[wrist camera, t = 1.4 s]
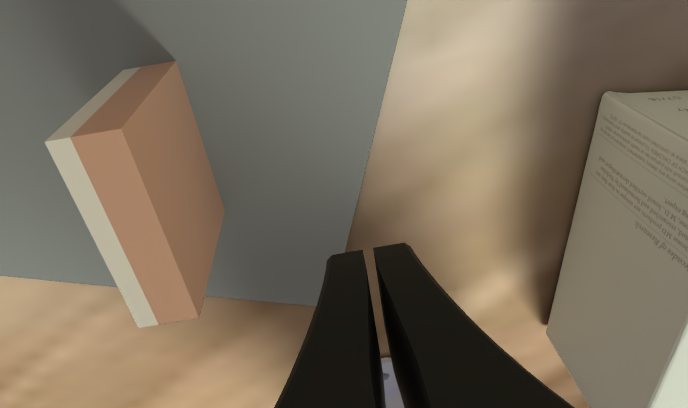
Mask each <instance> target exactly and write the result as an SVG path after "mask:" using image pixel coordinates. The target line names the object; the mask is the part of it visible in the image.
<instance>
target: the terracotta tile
mask: <svg viewBox="0 0 688 408" xmlns="http://www.w3.org/2000/svg"><path fill="white" fill-rule="evenodd" d="M45 144H46V146H47V148H48V150H49V152H50V154H51V156H52V158H53V160H54V162H55V164H56V166H57V168H58V170H59V172H60V174H61V176H62V178H63V180H64V182H65V184H66V186H67V188H68V190H69V192H70V194H71V196H72V198H73V200H74V202H75V203H76V205H77V207H78V209H79V211H80V213H81V215H82V217H83V219H84V221H85V223H86V225H87V227H88V229H89V231H90V233H91V235H92V237H93V239H94V241H95V243H96V245H97V247H98V249H99V251H100V253H101V255H102V257H103V259H104V261H105V263H106V265H107V267H108V269H109V271H110V273H111V275H112V277H113V279H114V281H115V283H116V285H117V287H118V288H119V290H120V292H121V294H122V296H123V298H124V300H125V302H126V304H127V306H128V308H129V310H130V312H131V314H132V316H133V318H134V320H135V322H136V324H137V326H138V328H142V327H148V326H154V325H160V324H166V323H172V322H178V321H184V320H190V319H196V318H199V316H200V312H201V308H202V304H203V299H204V295H205V291H206V287H207V283H208V279H209V275H210V271H211V267H212V263H213V258H214V254H215V250H216V246H217V242H218V238H219V234H220V230H221V226H222V222H223V217H224V213H225V209H224V206H223V203H222V200H221V197H220V194H219V191H218V188H217V185H216V182H215V178H214V175H213V172H212V169H211V166H210V163H209V160H208V157H207V154H206V151H205V148H204V145H203V142H202V138H201V135H200V132H199V129H198V126H197V123H196V120H195V117H194V114H193V111H192V108H191V105H190V101H189V98H188V95H187V92H186V89H185V86H184V83H183V80H182V77H181V74H180V71H179V68H178V64H177V61H171V62H166V63H160V64H154V65H148V66H142V67H137V68H131V69H125V70H123V71H121V72H120V73H119V74H118V75H117V76H116V77H115V78H114V79H113V80H112V81H111V82H109V83H108V84H107V85H106V86H105V87H104V88H103V89H102V90H101V91H100V92H98V93H97V94H96V95H95V96H94V97H93V98H92V99H91V100H90V101H89V102H87V103H86V104H85V105H84V106H83V107H82V108H81V109H80V110H79V111H78V112H76V113H75V114H74V115H73V116H72V117H71V118H70V119H69V120H68V121H67V122H66V123H64V124H63V125H62V126H61V127H60V128H59V129H58V130H57V131H56V132H55V133H53V134H52V135H51V136H50V137H49V138H48V139H47V140H46V141H45Z"/></svg>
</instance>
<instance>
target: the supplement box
mask: <svg viewBox="0 0 688 408" xmlns="http://www.w3.org/2000/svg"><path fill="white" fill-rule="evenodd" d="M546 334H547V336H548V338H549V340H550V341H551V343H552V345H553V347H554V348H555V350H556V351H557V353H558V355H559V357H560V358H561V360H562V362H563V363H564V365H565V367H566V368H567V370H568V372H569V373H570V375H571V377H572V378H573V380H574V382H575V383H576V385H577V387H578V388H579V390H580V392H581V393H582V395H583V397H584V398H585V400H586V402H587V403H588V405H589V406H590V408H688V90H682V91H662V92H642V93H620V92H612V91H607V92H605V93H604V94H603V95H602V98H601V102H600V106H599V110H598V116H597V120H596V124H595V129H594V133H593V137H592V141H591V145H590V148H589V153H588V158H587V162H586V166H585V170H584V174H583V178H582V183H581V187H580V192H579V196H578V200H577V204H576V208H575V212H574V216H573V221H572V225H571V230H570V233H569V237H568V242H567V246H566V250H565V254H564V258H563V262H562V267H561V271H560V275H559V280H558V284H557V288H556V293H555V297H554V301H553V305H552V309H551V314H550V318H549V322H548V326H547V330H546Z"/></svg>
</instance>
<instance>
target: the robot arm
mask: <svg viewBox="0 0 688 408" xmlns="http://www.w3.org/2000/svg"><path fill="white" fill-rule="evenodd" d="M373 249H374V256H375V263H376V270H377V277H378V283H379V290H380V297H381V304H382V311H383V317H384V324H385V329H386V335H387V340H388V345H389V350H390V355H391V358H389V357H387V358H382V359H381V357H380V351H379V345H378V338H377V332H376V326H375V320H374V313H373V307H372V301H371V295H370V289H369V282H368V276H367V270H366V265H365V260H364V255H363V251H362V250H359V251H353V252H347V253H341V254H335V255H331V256H330V257H329V259H328V260H327V263H326V271H325V276H324V281H323V285H322V289H321V292H320V296H319V299H318V303H317V306H316V309H315V312H314V315H313V318H312V321H311V323H310V326H309V329H308V332H307V335H306V338H305V340H304V343H303V345H302V348H301V350H300V352H299V355H298V357H297V359H296V362H295V364H294V366H293V369H292V371H291V373H290V376H289V378H288V380H287V382H286V385H285V387H284V389H283V391H282V393H281V395H280V397H279V399H278V401H277V403H276V405H275V407H274V408H574V407H573V406H572V405H570V404H569V403H568V402H566V401H565V400H564V399H562V398H561V397H560V396H559V395H557V394H556V393H555V392H553V391H552V390H551V389H549V388H548V387H547V386H546V385H544V384H543V383H542V382H541V381H539V380H538V379H537V378H536V377H534V376H533V375H532V374H531V373H530V372H528V371H527V370H526V369H525V368H523V367H522V366H521V365H520V364H519V363H518V362H516V361H515V360H514V359H513V358H512V357H511V356H510V355H508V354H507V353H506V352H505V351H504V350H503V349H502V348H501V347H500V346H498V345H497V344H496V343H495V342H494V341H493V340H492V339H491V338H490V337H489V336H488V335H487V334H486V333H485V332H484V331H482V330H481V329H480V328H479V327H478V326H477V325H476V324H475V323H474V322H473V321H472V320H471V319H470V318H469V317H468V316H467V315H466V313H465V312H464V311H463V310H462V309H461V308H460V307H459V306H458V305H457V304H456V303H455V302H454V301H453V300H452V299H451V297H450V296H449V295H448V294H447V293H446V292H445V291H444V290H443V289H442V287H441V286H440V285H439V284H438V283H437V282H436V280H435V279H434V278H433V277H432V276H431V274H430V273H429V272H428V271H427V269H426V268H425V267H424V266H423V264H422V263H421V262H420V260H419V259H418V257H417V256H416V255H415V253H414V252H413V250H412V249H411V247H410V246H408V245H407V244H406V243H400V244H394V245H388V246H382V247H376V248H373ZM383 373H385V374H383Z"/></svg>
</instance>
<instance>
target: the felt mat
mask: <svg viewBox="0 0 688 408" xmlns="http://www.w3.org/2000/svg"><path fill="white" fill-rule="evenodd" d="M406 4H407V0H0V276H8V277H18V278H28V279H39V280H49V281H59V282H69V283H79V284H90V285H100V286H110V287H117V285H116V283H115V281H114V279H113V277H112V275H111V273H110V271H109V269H108V267H107V265H106V263H105V261H104V259H103V257H102V255H101V253H100V251H99V249H98V247H97V245H96V243H95V241H94V239H93V237H92V235H91V233H90V231H89V229H88V227H87V225H86V223H85V221H84V219H83V217H82V215H81V213H80V211H79V209H78V207H77V205H76V203H75V202H74V200H73V198H72V196H71V194H70V192H69V190H68V188H67V186H66V184H65V182H64V180H63V178H62V176H61V174H60V172H59V170H58V168H57V166H56V164H55V162H54V160H53V158H52V156H51V154H50V152H49V150H48V148H47V146H46V144H45V141H46V140H47V139H48V138H49V137H50V136H51V135H52V134H53V133H55V132H56V131H57V130H58V129H59V128H60V127H61V126H62V125H63V124H64V123H66V122H67V121H68V120H69V119H70V118H71V117H72V116H73V115H74V114H75V113H76V112H78V111H79V110H80V109H81V108H82V107H83V106H84V105H85V104H86V103H87V102H89V101H90V100H91V99H92V98H93V97H94V96H95V95H96V94H97V93H98V92H100V91H101V90H102V89H103V88H104V87H105V86H106V85H107V84H108V83H109V82H111V81H112V80H113V79H114V78H115V77H116V76H117V75H118V74H119V73H120V72H121V71H123V70H125V69H131V68H137V67H142V66H148V65H154V64H160V63H166V62H171V61H177V64H178V68H179V71H180V74H181V77H182V80H183V83H184V86H185V89H186V92H187V95H188V98H189V101H190V105H191V108H192V111H193V114H194V117H195V120H196V123H197V126H198V129H199V132H200V135H201V138H202V142H203V145H204V148H205V151H206V154H207V157H208V160H209V163H210V166H211V169H212V172H213V175H214V178H215V182H216V185H217V188H218V191H219V194H220V197H221V200H222V203H223V206H224V209H225V213H224V217H223V222H222V226H221V230H220V234H219V238H218V242H217V246H216V250H215V254H214V258H213V263H212V267H211V271H210V275H209V279H208V283H207V287H206V291H205V295H204V296H212V297H222V298H232V299H243V300H253V301H263V302H273V303H283V304H294V305H304V306H314V307H316V306H317V303H318V299H319V296H320V292H321V289H322V285H323V281H324V276H325V271H326V263H327V260H328V259H329V257H330V256H331V255H335V254H341V253H345V250H346V246H347V242H348V238H349V234H350V230H351V225H352V221H353V217H354V213H355V209H356V205H357V201H358V197H359V193H360V189H361V185H362V181H363V177H364V173H365V169H366V165H367V161H368V157H369V153H370V149H371V145H372V141H373V137H374V133H375V129H376V125H377V121H378V117H379V113H380V109H381V105H382V100H383V96H384V92H385V88H386V84H387V80H388V76H389V72H390V68H391V64H392V60H393V56H394V52H395V48H396V44H397V40H398V36H399V32H400V28H401V24H402V20H403V16H404V12H405V8H406Z"/></svg>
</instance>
